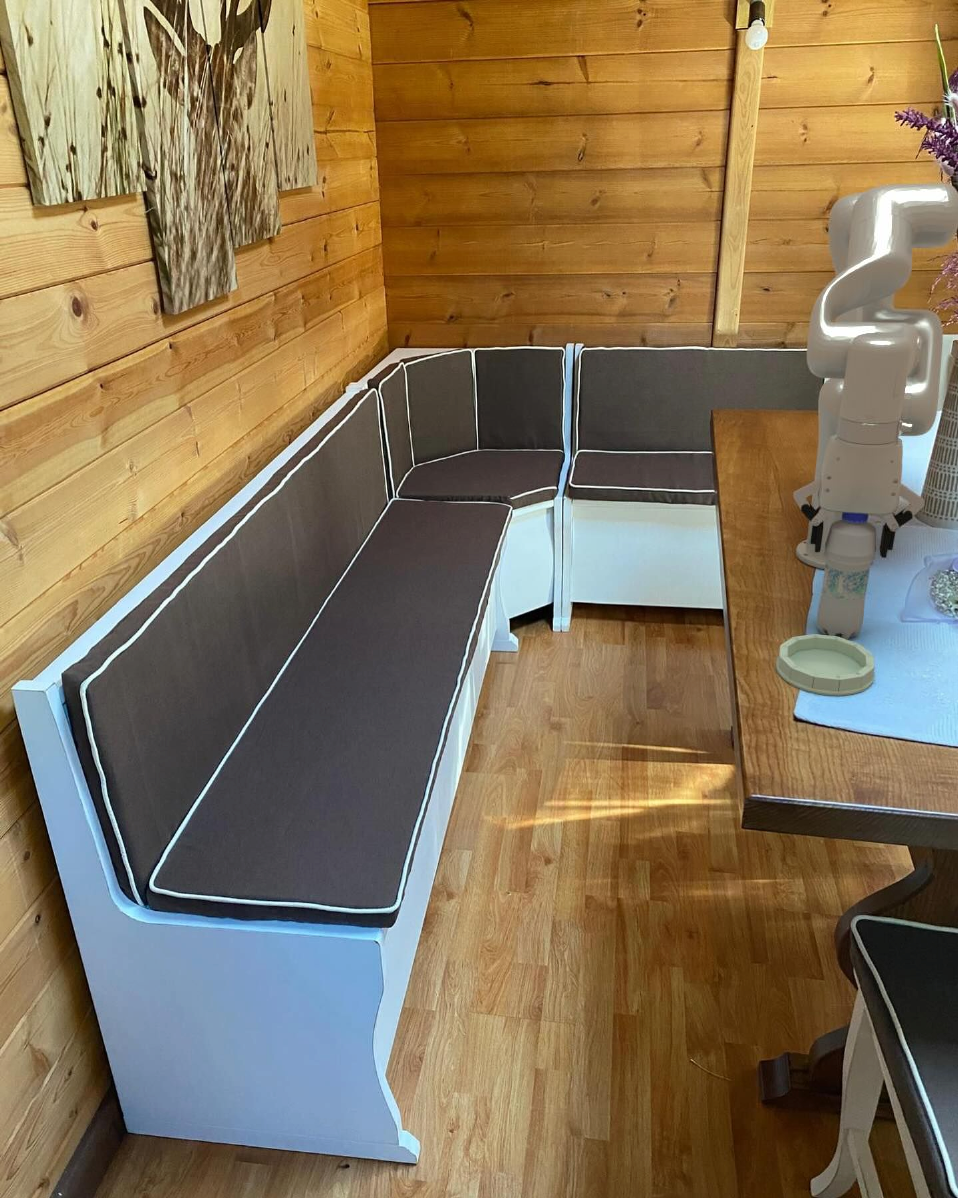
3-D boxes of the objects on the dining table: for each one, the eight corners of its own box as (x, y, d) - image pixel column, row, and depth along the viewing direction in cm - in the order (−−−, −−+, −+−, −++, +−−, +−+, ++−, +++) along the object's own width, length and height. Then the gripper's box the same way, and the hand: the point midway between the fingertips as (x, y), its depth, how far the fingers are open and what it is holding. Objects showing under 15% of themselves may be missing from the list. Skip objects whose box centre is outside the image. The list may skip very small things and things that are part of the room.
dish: (777, 643, 130) (779, 629, 129) (871, 654, 126) (873, 639, 125) (774, 688, 119) (776, 673, 118) (876, 701, 116) (879, 685, 115)
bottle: (823, 617, 137) (840, 493, 128) (868, 629, 133) (889, 501, 124) (806, 634, 132) (823, 507, 123) (852, 647, 128) (873, 516, 119)
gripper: (936, 425, 119) (914, 546, 127) (798, 420, 125) (785, 536, 132) (943, 441, 113) (919, 567, 121) (798, 435, 118) (784, 556, 126)
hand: (849, 550), depth 127 cm, fingers open, 8 cm apart
